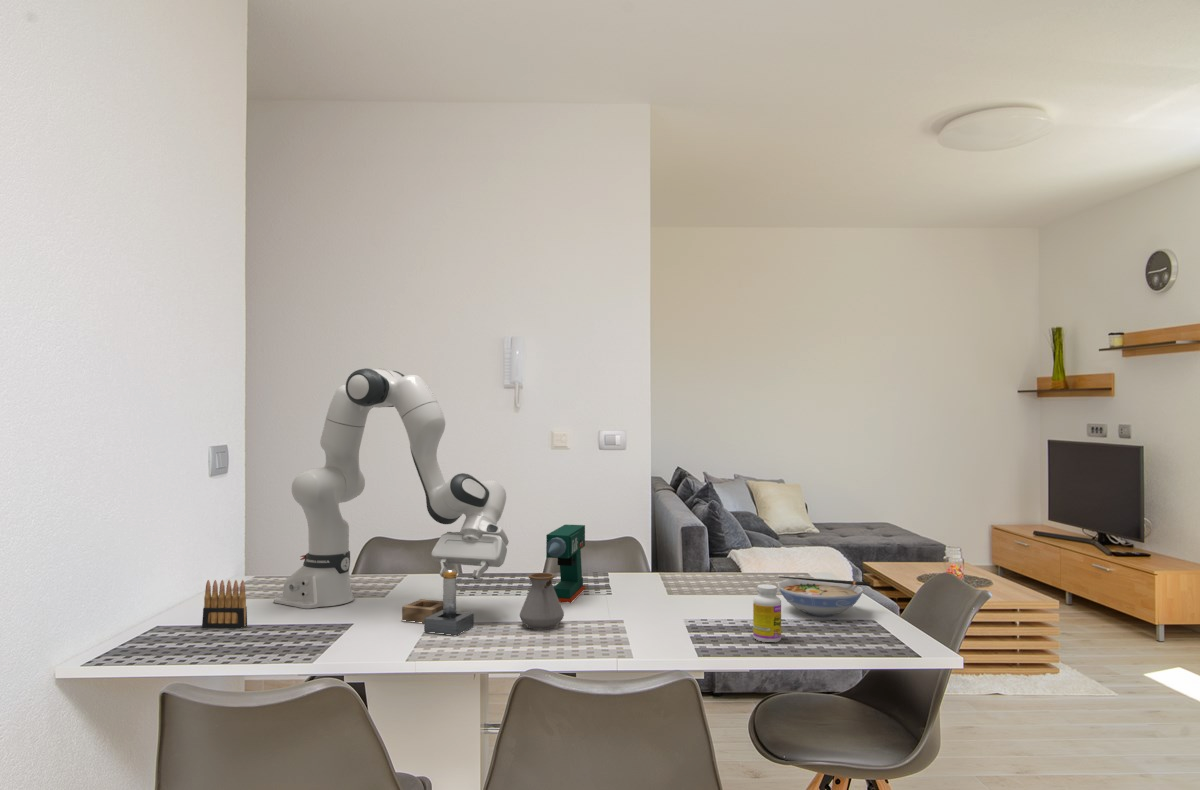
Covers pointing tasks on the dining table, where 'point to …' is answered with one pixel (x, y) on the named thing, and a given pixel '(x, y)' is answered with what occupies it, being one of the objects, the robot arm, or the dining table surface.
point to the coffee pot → (541, 603)
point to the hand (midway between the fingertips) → (459, 577)
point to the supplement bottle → (767, 614)
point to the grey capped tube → (449, 593)
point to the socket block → (449, 623)
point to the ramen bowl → (821, 594)
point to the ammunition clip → (224, 606)
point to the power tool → (567, 559)
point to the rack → (421, 610)
